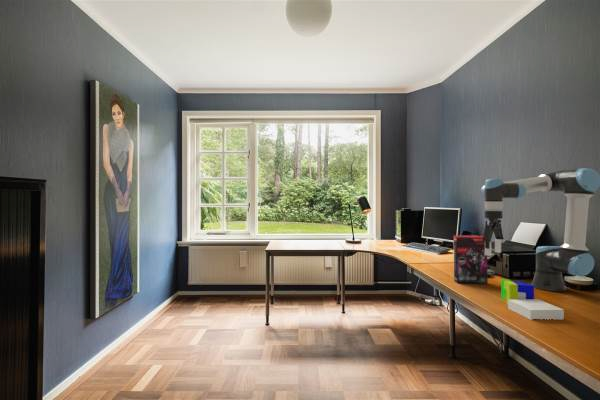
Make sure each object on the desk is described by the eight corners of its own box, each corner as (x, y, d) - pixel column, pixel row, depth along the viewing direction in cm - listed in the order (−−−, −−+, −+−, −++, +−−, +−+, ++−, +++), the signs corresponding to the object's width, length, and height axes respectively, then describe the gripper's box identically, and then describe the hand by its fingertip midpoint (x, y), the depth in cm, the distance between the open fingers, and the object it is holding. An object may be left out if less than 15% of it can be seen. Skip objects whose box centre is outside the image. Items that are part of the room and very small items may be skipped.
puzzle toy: (533, 307, 154) (534, 285, 154) (509, 306, 156) (509, 284, 156) (524, 301, 163) (524, 280, 163) (501, 299, 165) (501, 279, 165)
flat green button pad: (465, 270, 234) (465, 263, 234) (495, 274, 222) (495, 267, 222) (458, 274, 220) (458, 267, 220) (490, 279, 209) (490, 271, 208)
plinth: (538, 308, 153) (538, 299, 153) (563, 319, 139) (563, 309, 139) (508, 308, 152) (508, 299, 152) (530, 319, 138) (530, 310, 138)
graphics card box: (456, 283, 196) (456, 236, 196) (452, 280, 203) (453, 234, 203) (488, 284, 194) (488, 236, 194) (483, 281, 201) (483, 235, 201)
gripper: (494, 209, 177) (493, 250, 177) (475, 210, 160) (474, 255, 160) (510, 210, 171) (510, 252, 172) (492, 211, 155) (492, 257, 155)
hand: (493, 253), depth 166 cm, fingers open, 13 cm apart
